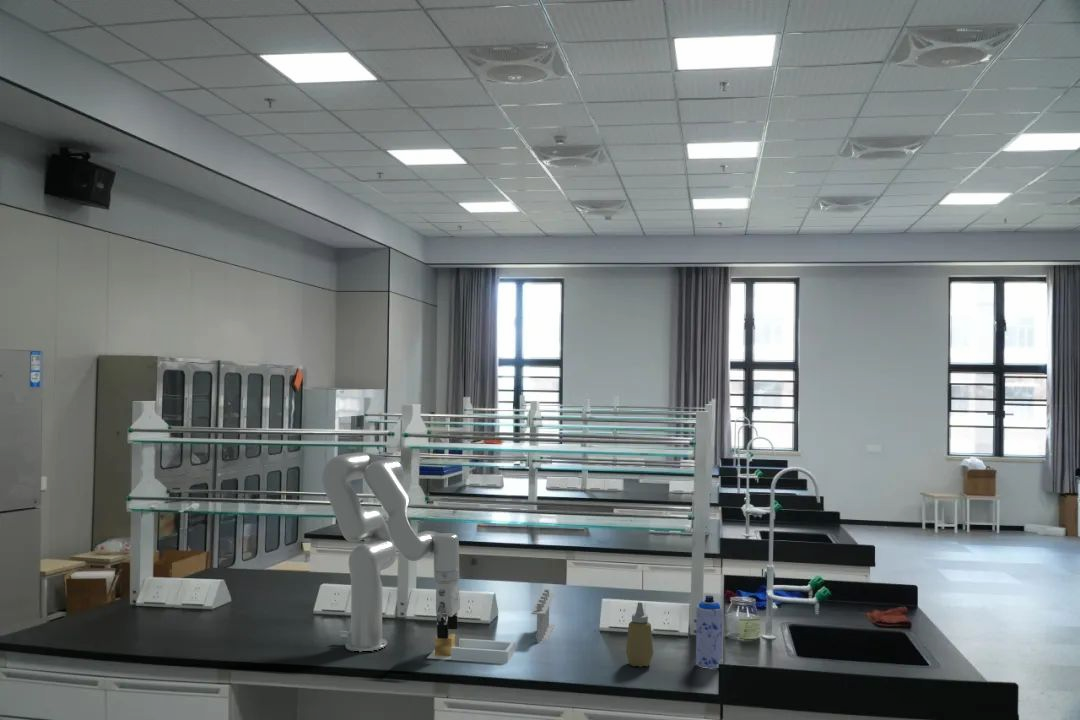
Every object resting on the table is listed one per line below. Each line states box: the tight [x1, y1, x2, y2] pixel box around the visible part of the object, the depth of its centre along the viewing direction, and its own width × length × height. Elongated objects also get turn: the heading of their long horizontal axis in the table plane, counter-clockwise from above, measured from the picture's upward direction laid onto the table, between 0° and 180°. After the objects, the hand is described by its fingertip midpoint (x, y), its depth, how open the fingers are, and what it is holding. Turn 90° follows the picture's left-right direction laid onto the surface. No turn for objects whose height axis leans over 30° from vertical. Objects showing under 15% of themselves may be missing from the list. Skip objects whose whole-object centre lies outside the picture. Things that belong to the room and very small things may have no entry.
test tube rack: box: [530, 588, 555, 644], centre depth 283 cm, size 25×4×13 cm, turn 172°
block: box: [434, 633, 456, 656], centre depth 260 cm, size 5×5×5 cm
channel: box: [426, 637, 516, 665], centre depth 259 cm, size 24×12×4 cm, turn 79°
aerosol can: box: [695, 595, 723, 668], centre depth 257 cm, size 8×8×20 cm
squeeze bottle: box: [625, 601, 654, 668], centre depth 256 cm, size 8×8×18 cm
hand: (447, 633), depth 261 cm, fingers open, 9 cm apart
